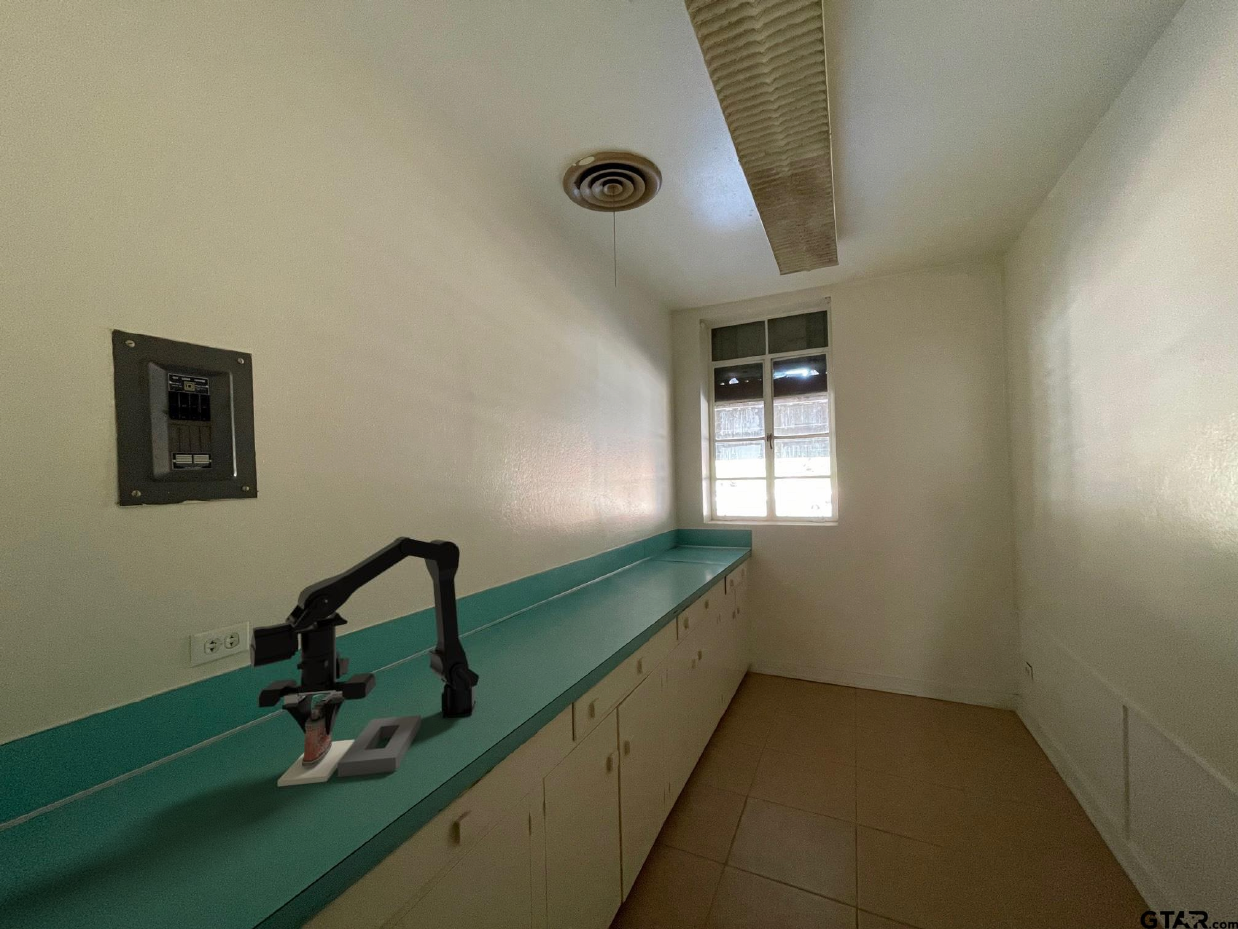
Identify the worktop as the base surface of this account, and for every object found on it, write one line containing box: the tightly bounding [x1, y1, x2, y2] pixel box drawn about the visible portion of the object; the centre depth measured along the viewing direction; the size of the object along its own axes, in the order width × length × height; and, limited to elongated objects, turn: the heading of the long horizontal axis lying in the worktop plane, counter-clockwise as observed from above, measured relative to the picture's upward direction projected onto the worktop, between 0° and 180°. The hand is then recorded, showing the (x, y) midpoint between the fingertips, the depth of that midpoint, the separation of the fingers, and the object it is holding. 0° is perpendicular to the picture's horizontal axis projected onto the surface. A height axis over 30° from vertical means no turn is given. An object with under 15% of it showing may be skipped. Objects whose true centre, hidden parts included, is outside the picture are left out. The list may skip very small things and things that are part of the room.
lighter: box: [302, 694, 333, 767], centre depth 90 cm, size 8×3×10 cm, turn 10°
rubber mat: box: [277, 739, 356, 787], centre depth 90 cm, size 8×12×1 cm, turn 8°
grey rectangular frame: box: [337, 714, 422, 778], centre depth 94 cm, size 10×16×2 cm, turn 8°
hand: (319, 734), depth 90 cm, fingers closed on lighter, 3 cm apart
